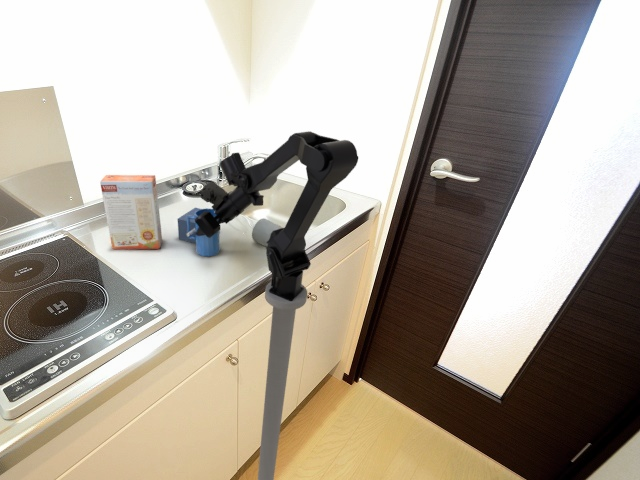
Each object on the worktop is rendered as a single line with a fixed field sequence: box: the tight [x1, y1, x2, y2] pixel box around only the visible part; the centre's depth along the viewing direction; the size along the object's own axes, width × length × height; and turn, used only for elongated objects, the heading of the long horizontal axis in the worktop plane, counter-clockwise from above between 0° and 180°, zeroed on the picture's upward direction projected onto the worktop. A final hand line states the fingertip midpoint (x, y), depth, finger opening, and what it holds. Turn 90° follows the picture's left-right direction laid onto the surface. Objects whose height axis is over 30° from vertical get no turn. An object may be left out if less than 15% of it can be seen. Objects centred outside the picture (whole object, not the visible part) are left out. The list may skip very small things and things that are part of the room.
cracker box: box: [99, 174, 163, 250], centre depth 105 cm, size 14×6×21 cm, turn 92°
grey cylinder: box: [251, 217, 283, 248], centre depth 111 cm, size 11×8×8 cm
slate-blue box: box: [177, 207, 201, 245], centre depth 112 cm, size 15×8×7 cm, turn 154°
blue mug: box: [186, 207, 221, 257], centre depth 105 cm, size 10×7×12 cm, turn 64°
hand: (203, 229), depth 105 cm, fingers closed on blue mug, 7 cm apart
